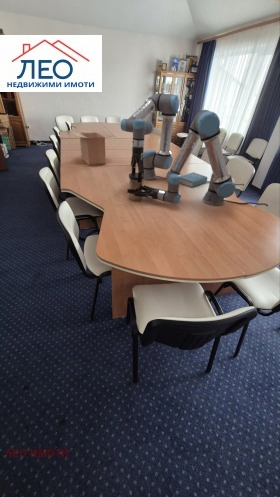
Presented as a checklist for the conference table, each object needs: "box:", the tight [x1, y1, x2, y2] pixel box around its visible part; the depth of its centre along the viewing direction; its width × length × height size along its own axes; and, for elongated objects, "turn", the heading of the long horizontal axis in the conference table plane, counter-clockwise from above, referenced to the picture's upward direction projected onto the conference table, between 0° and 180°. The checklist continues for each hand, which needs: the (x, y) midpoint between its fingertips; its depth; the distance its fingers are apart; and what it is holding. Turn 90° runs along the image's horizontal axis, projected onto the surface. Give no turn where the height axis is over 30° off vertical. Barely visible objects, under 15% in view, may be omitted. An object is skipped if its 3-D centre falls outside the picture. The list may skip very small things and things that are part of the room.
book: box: [180, 171, 208, 188], centre depth 200 cm, size 23×16×5 cm
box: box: [70, 129, 114, 166], centre depth 229 cm, size 44×36×27 cm
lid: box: [128, 172, 145, 181], centre depth 157 cm, size 11×11×2 cm
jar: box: [128, 178, 144, 202], centre depth 162 cm, size 10×10×16 cm
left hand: (136, 179), depth 158 cm, fingers closed on lid, 11 cm apart
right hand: (130, 188), depth 164 cm, fingers closed on jar, 10 cm apart
